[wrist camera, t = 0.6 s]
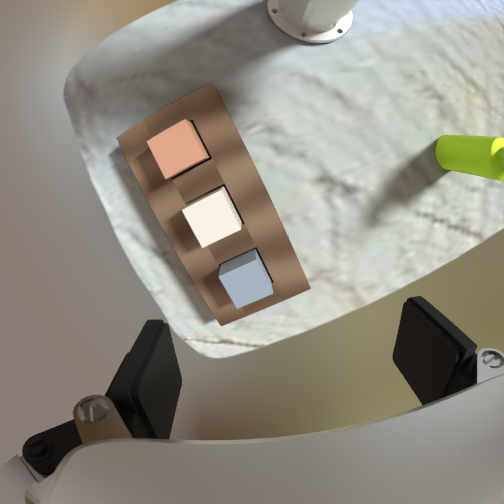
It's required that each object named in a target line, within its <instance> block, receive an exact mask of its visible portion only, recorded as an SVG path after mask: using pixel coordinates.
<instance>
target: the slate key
mask: <svg viewBox="0 0 504 504" xmlns="http://www.w3.org/2000/svg"><path fill="white" fill-rule="evenodd" d="M218 277H219V278H220V280H221V282H222V284H223V285H224V287H225V289H226V291H227V292H228V294H229V296H230V298H231V299H232V301H233V303H234V304H235V306H236V308H237V309H238V308H241V307H243V306H245V305H248V304H250V303H253V302H255V301H257V300H260V299H262V298H264V297H267V296H269V295H271V294H273V289H272V283H271V279H270V277H269V275H268V273H267V271H266V269H265V267H264V265H263V263H262V261H261V259H260V257H259V255H258V253H257V251H256V249H253V250H251V251H249V252H246V253H244V254H242V255H240V256H238V257H235V258H233V259H231V260H229V261H227V262H224V263H222V264H221V267H220V271H219V276H218Z"/></svg>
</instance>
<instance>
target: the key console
mask: <svg viewBox="0 0 504 504" xmlns="http://www.w3.org/2000/svg"><path fill="white" fill-rule="evenodd" d="M184 119H186V120H188V121H189V122H191V123H192V124H193V126H194V128H195V130H196V132H197V134H198V136H199V138H200V140H201V142H202V144H203V146H204V148H205V150H206V152H207V154H208V156H209V158H208V159H206V160H204V161H202V162H200V163H198V164H196V165H194V166H192V167H190V168H189V169H187V170H185V171H183V172H181V173H179V174H178V175H176V176H174V177H171V178H168V179H165V177H164V175H163V173H162V171H161V169H160V167H159V165H158V163H157V161H156V159H155V157H154V155H153V153H152V151H151V149H150V147H149V145H148V143H147V141H148V140H150V139H151V138H153V137H154V136H156V135H158V134H160V133H161V132H163V131H165V130H166V129H168V128H170V127H172V126H173V125H175V124H177V123H179V122H181V121H183V120H184ZM117 140H118V143H119V145H120V147H121V149H122V151H123V153H124V155H125V157H126V159H127V161H128V163H129V165H130V167H131V169H132V171H133V173H134V175H135V177H136V179H137V181H138V183H139V185H140V187H141V189H142V191H143V193H144V195H145V197H146V199H147V201H148V203H149V204H150V206H151V208H152V210H153V212H154V214H155V216H156V217H157V219H158V221H159V223H160V225H161V227H162V228H163V230H164V232H165V234H166V236H167V237H168V239H169V241H170V243H171V245H172V246H173V248H174V250H175V252H176V253H177V255H178V257H179V258H180V260H181V262H182V264H183V265H184V267H185V269H186V270H187V272H188V274H189V275H190V277H191V279H192V280H193V282H194V284H195V285H196V287H197V289H198V290H199V292H200V294H201V295H202V297H203V299H204V300H205V302H206V303H207V305H208V307H209V308H210V310H211V311H212V313H213V315H214V316H215V318H216V319H217V321H218V322H219V324H220V325H221V326H223V325H226V324H228V323H231V322H233V321H236V320H238V319H241V318H243V317H246V316H248V315H251V314H253V313H255V312H258V311H260V310H263V309H265V308H267V307H270V306H272V305H275V304H277V303H279V302H282V301H284V300H286V299H289V298H291V297H293V296H295V295H298V294H300V293H302V292H304V291H307V290H309V289H311V288H310V286H309V283H308V281H307V279H306V276H305V274H304V272H303V270H302V267H301V265H300V263H299V260H298V258H297V256H296V254H295V251H294V249H293V247H292V245H291V242H290V240H289V238H288V236H287V233H286V231H285V229H284V227H283V225H282V222H281V220H280V218H279V216H278V214H277V212H276V209H275V207H274V205H273V203H272V201H271V199H270V196H269V194H268V192H267V190H266V188H265V186H264V184H263V182H262V180H261V177H260V175H259V173H258V171H257V169H256V167H255V165H254V163H253V161H252V159H251V157H250V155H249V153H248V151H247V149H246V147H245V145H244V143H243V141H242V139H241V137H240V135H239V133H238V131H237V129H236V127H235V125H234V123H233V121H232V119H231V117H230V115H229V113H228V111H227V109H226V107H225V105H224V103H223V101H222V99H221V98H220V96H219V94H218V92H217V90H216V88H215V86H214V84H213V82H212V83H210V84H208V85H206V86H204V87H202V88H200V89H198V90H196V91H194V92H192V93H190V94H188V95H186V96H184V97H182V98H181V99H179V100H177V101H175V102H173V103H172V104H170V105H168V106H166V107H164V108H163V109H161V110H159V111H158V112H156V113H154V114H153V115H151V116H149V117H148V118H146V119H144V120H143V121H141V122H140V123H138V124H136V125H135V126H133V127H132V128H130V129H129V130H127V131H126V132H124V133H123V134H121V135H120V136H118V137H117ZM223 186H224V187H225V189H226V191H227V193H228V195H229V197H230V199H231V201H232V203H233V205H234V207H235V209H236V211H237V213H238V215H239V217H240V219H241V221H242V223H241V230H239V231H237V232H235V233H233V234H231V235H229V236H227V237H224V238H222V239H220V240H218V241H216V242H214V243H212V244H210V245H208V246H206V247H203V248H202V247H201V245H200V243H199V241H198V239H197V237H196V236H195V234H194V232H193V230H192V228H191V226H190V225H189V223H188V221H187V219H186V217H185V215H184V213H183V211H182V210H183V209H184V208H185V207H186V206H187V205H188V204H190V203H191V202H193V201H195V200H197V199H199V198H201V197H203V196H205V195H207V194H209V193H211V192H213V191H215V190H217V189H219V188H221V187H223ZM253 249H256V251H257V253H258V255H259V257H260V259H261V261H262V263H263V265H264V267H265V269H266V271H267V273H268V275H269V277H270V279H271V283H272V289H273V294H271V295H269V296H267V297H264V298H262V299H260V300H257V301H255V302H253V303H250V304H248V305H245V306H243V307H241V308H238V309H237V308H236V306H235V304H234V303H233V301H232V299H231V298H230V296H229V294H228V292H227V291H226V289H225V287H224V285H223V284H222V282H221V280H220V278H219V277H218V276H219V271H220V267H221V264H222V263H224V262H227V261H229V260H231V259H233V258H235V257H238V256H240V255H242V254H244V253H246V252H249V251H251V250H253Z"/></svg>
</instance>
